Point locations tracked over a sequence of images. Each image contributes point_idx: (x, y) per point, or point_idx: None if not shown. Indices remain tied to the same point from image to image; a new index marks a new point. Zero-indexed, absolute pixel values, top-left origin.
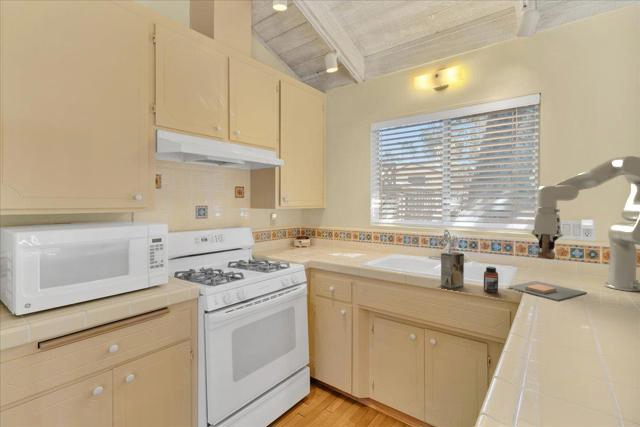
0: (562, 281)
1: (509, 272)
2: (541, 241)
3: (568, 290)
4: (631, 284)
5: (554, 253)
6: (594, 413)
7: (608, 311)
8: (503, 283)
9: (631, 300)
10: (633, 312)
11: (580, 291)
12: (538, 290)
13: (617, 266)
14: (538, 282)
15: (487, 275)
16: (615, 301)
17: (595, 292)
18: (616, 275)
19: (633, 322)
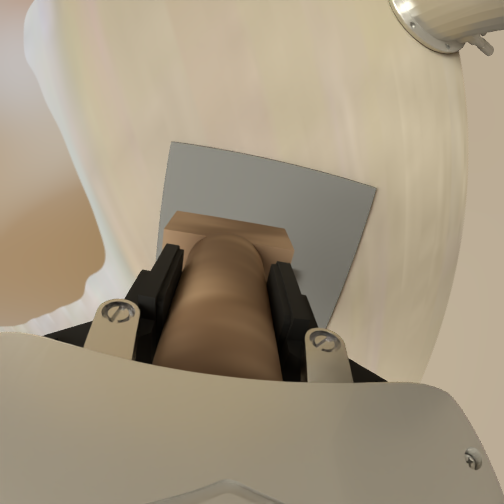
0: (255, 24)
1: (39, 59)
2: None
3: (323, 215)
4: (466, 39)
5: (291, 254)
6: None
7: (406, 339)
8: (109, 280)
9: (463, 180)
10: (446, 303)
11: (359, 195)
12: None
13: (482, 18)
14: (190, 163)
15: None
16: (435, 229)
17: (393, 142)
18: (455, 24)
19: (426, 364)
